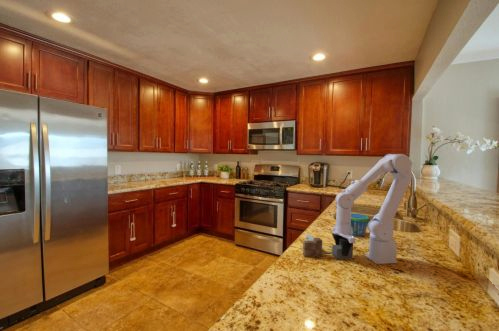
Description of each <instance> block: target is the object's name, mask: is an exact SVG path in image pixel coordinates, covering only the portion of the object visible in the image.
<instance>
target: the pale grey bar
mask: <svg viewBox="0 0 499 331" xmlns="http://www.w3.org/2000/svg"><path fill="white" fill-rule="evenodd" d="M305 235H306V236H305V241H314V238H315V237H313V236H312V235H311V234H310V233H306V234H305Z"/></svg>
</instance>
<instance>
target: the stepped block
mask: <svg viewBox="0 0 499 331" xmlns="http://www.w3.org/2000/svg"><path fill="white" fill-rule="evenodd" d="M331 246H332V247H331V252H332V253H331V256H333V257H334V259H336V260H352V259H353V256H354V255H353V254H354V244H353V245H352V246H351V248H350V251H349V254H348V256H343V255H342V247H341V243H340V241H339V245H336V244H332V245H331Z"/></svg>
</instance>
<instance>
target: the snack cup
mask: <svg viewBox="0 0 499 331" xmlns="http://www.w3.org/2000/svg"><path fill="white" fill-rule="evenodd" d="M370 221H371V219H370V217H369V216H368V215H366V214H363V213H362V214H361V213H356V212H355V213H352V212H351V230H350V232H351V234H352V235H353V237H354V236H356V237H363V236H365V235H366V232H367V228H368V223H369V222H370Z"/></svg>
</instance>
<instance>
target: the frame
mask: <svg viewBox="0 0 499 331" xmlns="http://www.w3.org/2000/svg"><path fill="white" fill-rule="evenodd" d="M313 238H314V241H306V240H302V256H303V257H307V258H308V257H315V258H316V257H323V255H325V254H326V255H327V254H332V251H323V240H322V239H321V238H320V237H313Z"/></svg>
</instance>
